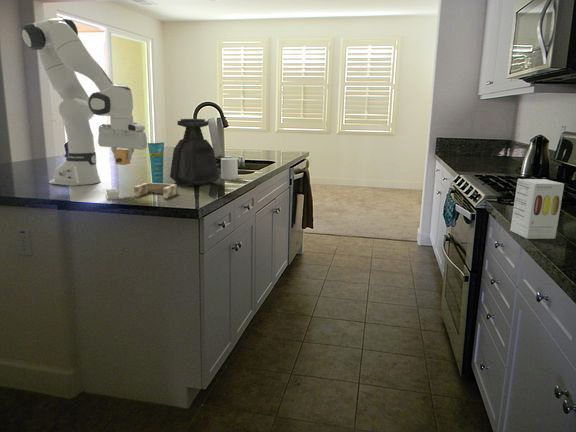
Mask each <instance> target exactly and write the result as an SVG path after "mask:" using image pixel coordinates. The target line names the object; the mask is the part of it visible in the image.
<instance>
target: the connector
mask: <svg viewBox="0 0 576 432" xmlns="http://www.w3.org/2000/svg"><path fill="white" fill-rule="evenodd" d="M129 152H130V151H129V150H128V149H127V148H117V150H115V158H114V160H115V165H120V166H126V165H130V164H131V160H128V159H126V158H127V157H126V155H128V154H129Z"/></svg>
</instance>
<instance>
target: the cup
mask: <svg viewBox="0 0 576 432" xmlns="http://www.w3.org/2000/svg"><path fill="white" fill-rule="evenodd" d="M238 162H239V161H238V158H236V157H222V158H220V169H221V171H220V176H221V179H222V180H223V181H224V180H225V181H234V180H235V181H236V180H237V179H238V177H239V176H238V175H239V174H238V171H239V169H238V168H239V167H238V166H239V165H238V164H239V163H238Z"/></svg>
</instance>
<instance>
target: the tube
mask: <svg viewBox="0 0 576 432" xmlns="http://www.w3.org/2000/svg"><path fill="white" fill-rule="evenodd" d="M147 148H148V153H149V161H150V162H149V163H150V172H151V183H164V151H165V142H147Z"/></svg>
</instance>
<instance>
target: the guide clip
mask: <svg viewBox="0 0 576 432" xmlns="http://www.w3.org/2000/svg"><path fill="white" fill-rule="evenodd" d="M105 192H106V194H105V199H106V200H107V201H110V200H111V201H112V200H115V201H116V200H121V196H120V192H119V191H118V188H108V189H107V188H106V191H105Z"/></svg>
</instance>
